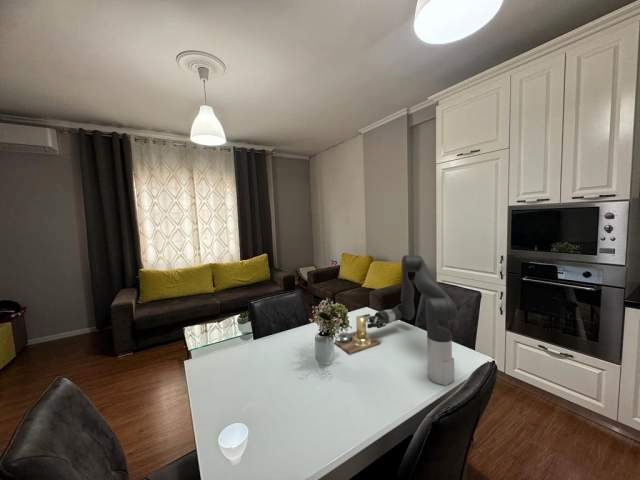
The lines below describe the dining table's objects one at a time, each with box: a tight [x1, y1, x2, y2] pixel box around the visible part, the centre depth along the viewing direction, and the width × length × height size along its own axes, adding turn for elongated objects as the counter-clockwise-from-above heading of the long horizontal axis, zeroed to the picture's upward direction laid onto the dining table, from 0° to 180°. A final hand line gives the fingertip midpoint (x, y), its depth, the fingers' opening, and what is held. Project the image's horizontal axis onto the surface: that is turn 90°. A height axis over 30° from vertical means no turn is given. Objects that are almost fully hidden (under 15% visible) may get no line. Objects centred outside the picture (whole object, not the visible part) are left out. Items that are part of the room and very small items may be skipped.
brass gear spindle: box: [352, 315, 371, 346], centre depth 138 cm, size 10×10×13 cm
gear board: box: [334, 330, 381, 356], centre depth 140 cm, size 18×20×1 cm
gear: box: [338, 331, 353, 344], centre depth 141 cm, size 10×9×4 cm
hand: (362, 323), depth 138 cm, fingers open, 8 cm apart
